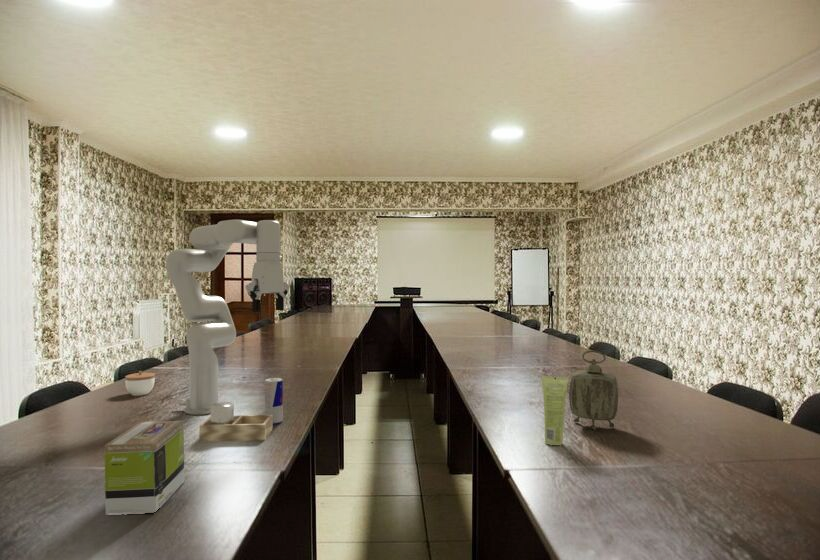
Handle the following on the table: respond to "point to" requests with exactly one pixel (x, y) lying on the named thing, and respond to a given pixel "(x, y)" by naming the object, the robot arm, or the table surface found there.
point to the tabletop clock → (593, 393)
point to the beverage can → (274, 399)
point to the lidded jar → (139, 383)
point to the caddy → (237, 429)
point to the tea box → (144, 467)
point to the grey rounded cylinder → (222, 413)
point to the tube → (554, 408)
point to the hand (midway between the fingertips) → (268, 311)
